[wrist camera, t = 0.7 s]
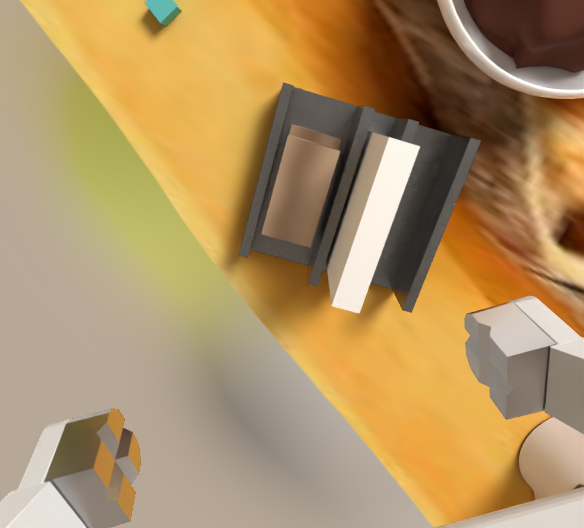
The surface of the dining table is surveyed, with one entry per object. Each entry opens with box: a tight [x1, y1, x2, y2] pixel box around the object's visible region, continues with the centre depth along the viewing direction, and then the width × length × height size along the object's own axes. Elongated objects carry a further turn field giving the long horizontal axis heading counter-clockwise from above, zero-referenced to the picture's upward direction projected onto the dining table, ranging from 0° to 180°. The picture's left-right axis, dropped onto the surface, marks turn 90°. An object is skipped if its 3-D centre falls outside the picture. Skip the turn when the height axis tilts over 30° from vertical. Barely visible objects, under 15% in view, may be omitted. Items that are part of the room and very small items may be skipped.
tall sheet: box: [326, 131, 420, 313], centre depth 43 cm, size 2×14×15 cm, turn 164°
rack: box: [239, 83, 481, 313], centre depth 47 cm, size 19×18×7 cm
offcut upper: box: [262, 135, 340, 248], centre depth 46 cm, size 5×10×2 cm, turn 164°
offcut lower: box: [289, 124, 342, 149], centre depth 48 cm, size 5×11×2 cm, turn 164°
